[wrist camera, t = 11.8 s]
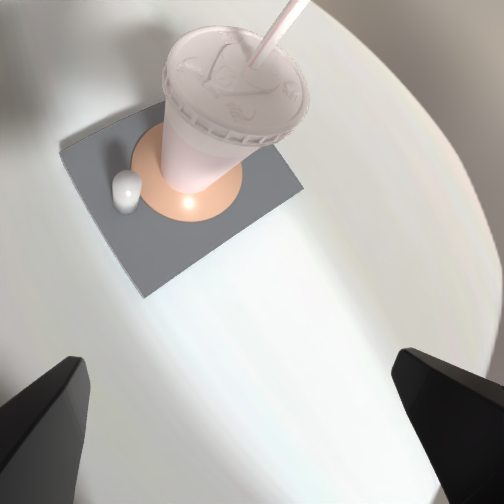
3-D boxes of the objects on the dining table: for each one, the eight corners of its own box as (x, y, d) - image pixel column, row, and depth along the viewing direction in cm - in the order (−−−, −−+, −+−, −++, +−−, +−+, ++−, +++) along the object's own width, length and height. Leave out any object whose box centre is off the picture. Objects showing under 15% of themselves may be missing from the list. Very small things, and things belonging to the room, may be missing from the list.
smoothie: (251, 173, 22) (395, 42, 9) (189, 235, 19) (327, 96, 7) (188, 112, 21) (277, -52, 8) (119, 164, 18) (153, -37, 5)
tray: (143, 298, 19) (148, 295, 15) (61, 160, 18) (52, 128, 14) (296, 193, 25) (326, 173, 21) (219, 88, 24) (238, 56, 20)
